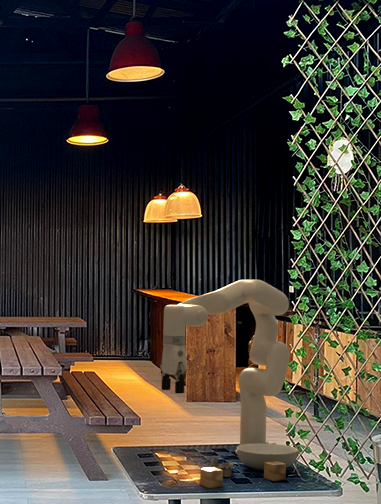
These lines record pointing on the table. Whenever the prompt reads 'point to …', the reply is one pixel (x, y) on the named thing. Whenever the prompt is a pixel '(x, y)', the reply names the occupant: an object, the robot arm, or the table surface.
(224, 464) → the tan cratered rock
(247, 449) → the serving bowl
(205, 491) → the table surface
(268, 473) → the maple block
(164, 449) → the table surface
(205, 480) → the maple block
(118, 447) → the table surface
